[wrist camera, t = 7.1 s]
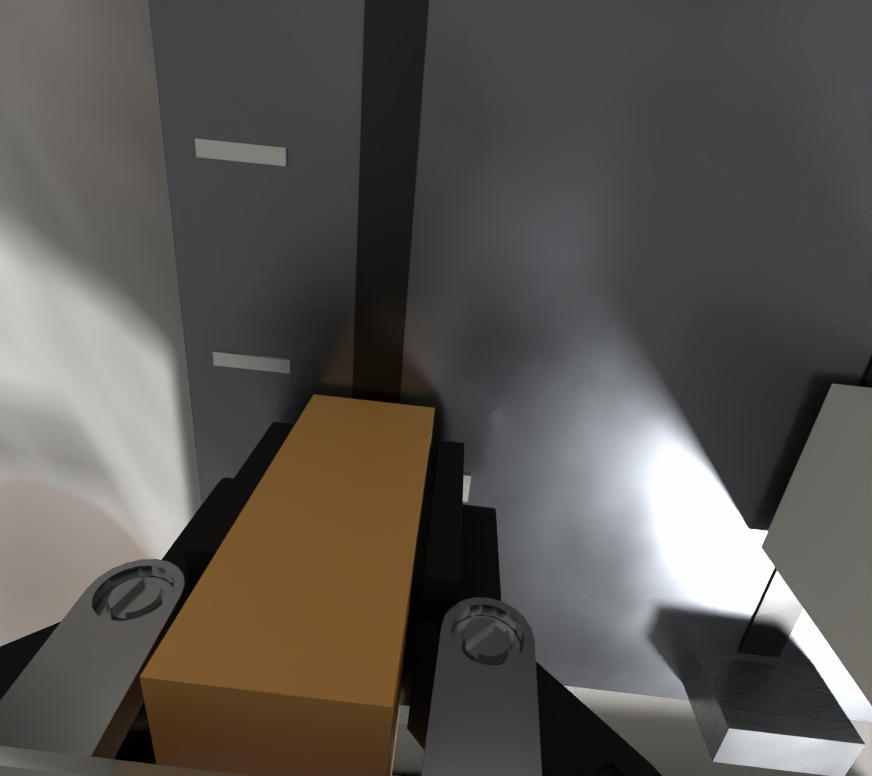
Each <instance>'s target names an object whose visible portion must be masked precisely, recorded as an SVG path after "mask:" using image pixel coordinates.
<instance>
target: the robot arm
mask: <svg viewBox="0 0 872 776" xmlns="http://www.w3.org/2000/svg"><path fill="white" fill-rule="evenodd" d="M294 425H295V424H291V423H282V422H273V423H272V424H271V425H270V427H269V428H268V430H267V431H266V433H265V434H264V435H263V437H262V438H261V440H260V441H259V443H258V444H257V445H256V447H255V448H254V450H253V451H252V453H251V454H250V456H249V457H248V458H247V460H246V461H245V463H244V464H243V466H242V467H241V468H240V470H239V471H238V473H237V474H236V476H235V477H234V478H228V477H226V478H222V479H221V480H220V481H219V482H218V484H217V485H216V486H215V488H214V489H213V490H212V492H211V493H210V495H209V496H208V497H207V499H206V500H205V501H204V503H203V504H202V505H201V507H200V508H199V510H198V511H197V512H196V514H195V515H194V516H193V518H192V519H191V520H190V522H189V523H188V525H187V526H186V527H185V529H184V530H183V531H182V533H181V534H180V535H179V537H178V538H177V540H176V541H175V542H174V544H173V545H172V546H171V548H170V549H169V550H168V552H167V553H166V555H165V556H164V557H163V559H162V560H158V559H141V560H137V561H132V562H128V563H124V564H122V565H120V566H117V567H115V568H112V569H110V570H109V571H107V572H106V573H104V574H103V575H101V576H99V577H98V578H97V579H96V580H95V581H94V582H93V583H92V584H91V585H90V586H89V587H88V588H87V589H86V590H85V591H84V593H83V594H82V595H81V597H80V598H79V599H78V601H77V602H76V603H75V604H74V606H73V607H72V608H71V610H70V611H69V612H68V614H67V615H66V616H65V617H64V619H63V620H62V621H61V622H59V623H56V624H54V625H52V626H49V627H47V628H44V629H42V630H39V631H37V632H35V633H32V634H30V635H27V636H25V637H22V638H20V639H18V640H15V641H13V642H10V643H8V644H5V645H3V646H1V647H0V776H246V775H238V774H230V773H222V772H214V771H206V770H197V769H189V768H181V767H173V766H165V765H157V764H156V758H155V753H154V748H153V743H152V738H151V733H150V728H149V723H148V718H147V712H146V707H145V702H144V697H143V692H142V687H141V682H140V675H141V674H142V672H143V671H144V669H145V667H146V666H147V664H148V662H149V661H150V659H151V658H152V656H153V654H154V653H155V651H156V650H157V648H158V646H159V645H160V643H161V641H162V640H163V638H164V637H165V635H166V633H167V632H168V630H169V628H170V627H171V625H172V624H173V622H174V620H175V619H176V617H177V615H178V614H179V612H180V611H181V609H182V607H183V606H184V604H185V602H186V601H187V599H188V598H189V596H190V594H191V593H192V591H193V589H194V588H195V586H196V585H197V583H198V581H199V580H200V578H201V576H202V575H203V573H204V572H205V570H206V568H207V567H208V565H209V563H210V562H211V560H212V559H213V557H214V555H215V554H216V552H217V550H218V549H219V547H220V546H221V544H222V542H223V541H224V539H225V537H226V536H227V534H228V533H229V531H230V529H231V528H232V526H233V524H234V523H235V521H236V520H237V518H238V516H239V515H240V513H241V512H242V510H243V508H244V507H245V505H246V503H247V502H248V500H249V499H250V497H251V495H252V494H253V492H254V490H255V489H256V487H257V486H258V484H259V482H260V481H261V479H262V477H263V476H264V474H265V473H266V471H267V469H268V468H269V466H270V464H271V463H272V461H273V460H274V458H275V456H276V455H277V453H278V451H279V450H280V448H281V447H282V445H283V443H284V442H285V440H286V438H287V437H288V435H289V434H290V432H291V430H292V429H293V427H294ZM463 475H464V443H461V442H452V441H443V440H439V447H436V446H430V452H429V459H428V466H427V474H426V481H425V488H424V495H423V503H422V510H421V517H420V525H419V532H418V539H417V546H416V554H415V561H414V569H413V577H412V586H411V596H410V606H409V616H408V626H407V637H406V647H405V657H404V667H403V678H402V688H401V698H400V705H403V706H410V707H409V716H408V725H407V729H408V730H409V731H410V733H411V734H412V735H413V736H414V738H415V739H416V740H417V741H418V743H419V744H420V745H421V746H422V748H423V749H424V750H425V753H424V760H423V767H422V775H421V776H661V774H660V773H659V772H658V771H657V770H656V769H655V768H654V767H653V766H652V765H651V764H650V763H649V762H648V761H647V760H646V759H645V758H644V757H643V756H641V755H640V754H639V753H638V752H637V751H636V750H635V749H634V748H632V747H631V746H630V745H629V744H628V743H627V742H626V741H625V740H624V739H622V738H621V737H620V736H619V735H618V734H617V733H616V732H615V731H613V730H612V729H611V728H610V727H609V726H608V725H607V724H606V723H605V722H603V721H602V720H601V719H600V718H599V717H598V716H597V715H596V714H595V713H593V712H592V711H591V710H590V709H589V708H588V707H587V706H586V705H584V704H583V703H582V702H581V701H580V700H579V699H578V698H577V697H576V696H574V695H573V694H572V693H571V692H570V691H569V690H568V689H567V688H565V687H564V686H563V685H562V684H561V683H560V682H559V681H558V680H557V679H555V678H554V677H553V676H552V675H551V674H550V673H549V672H548V671H547V670H545V669H544V668H543V667H542V666H541V665H540V664H539V663H538V662H536V656H535V640H534V636H533V632H532V628H531V627H530V625H529V624H528V622H527V620H526V619H525V617H524V616H523V615H521V614H520V613H519V612H518V611H517V610H516V609H515V608H513V607H511V606H510V605H508V604H506V603H504V602H502V601H501V586H500V569H499V552H498V536H497V519H496V509H495V508H491V507H483V506H474V505H465V504H463Z"/></svg>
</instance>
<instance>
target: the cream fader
mask: <svg viewBox="0 0 872 776" xmlns="http://www.w3.org/2000/svg"><path fill="white" fill-rule="evenodd" d="M761 548H762V550H763V551H764V553H765V554H766V555H767V557H768V558H769V560H770V561H771V563H772V564H773V565H774V567H775V568H776V570H777V571H778V573H779V574H780V575H781V577H782V578H783V580H784V581H785V583H786V584H787V585H788V587H789V588H790V590H791V591H792V593H793V594H794V596H795V597H796V598H797V600H798V601H799V603H800V604H801V606H802V607H803V608H804V610H805V611H806V613H807V614H808V616H809V617H810V618H811V620H812V621H813V623H814V624H815V626H816V627H817V628H818V630H819V631H820V633H821V634H822V636H823V637H824V638H825V640H826V641H827V643H828V644H829V646H830V647H831V648H832V650H833V651H834V653H835V654H836V656H837V657H838V658H839V660H840V661H841V663H842V664H843V666H844V667H845V668H846V670H847V671H848V673H849V674H850V676H851V677H852V678H853V680H854V681H855V683H856V684H857V686H858V687H859V689H860V690H861V691H862V693H863V694H864V696H865V697H866V699H867V700H868V701H869V703H870V704H871V706H872V388H868V387H858V386H849V385H840V384H832V385H831V387H830V389H829V392H828V394H827V396H826V398H825V401H824V403H823V405H822V408H821V410H820V412H819V415H818V417H817V419H816V421H815V424H814V426H813V428H812V431H811V433H810V435H809V438H808V440H807V442H806V444H805V447H804V449H803V451H802V454H801V456H800V458H799V461H798V463H797V465H796V467H795V470H794V472H793V474H792V477H791V479H790V481H789V484H788V486H787V488H786V490H785V493H784V495H783V497H782V500H781V502H780V504H779V507H778V509H777V511H776V513H775V516H774V518H773V520H772V523H771V525H770V527H769V530H768V532H767V534H766V536H765V539H764V541H763V543H762V546H761Z"/></svg>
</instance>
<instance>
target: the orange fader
mask: <svg viewBox="0 0 872 776" xmlns="http://www.w3.org/2000/svg"><path fill="white" fill-rule="evenodd" d="M434 411H435V408H432V407H423V406H414V405H405V404H396V403H387V402H378V401H369V400H360V399H351V398H342V397H333V396H324V395H315V394H314V395H313V396H312V398H311V399H310V401H309V403H308V404H307V406H306V408H305V409H304V411H303V412H302V414H301V416H300V417H299V419H298V421H297V422H296V424H295V425H294V427H293V429H292V430H291V432H290V434H289V435H288V437H287V438H286V440H285V442H284V443H283V445H282V447H281V448H280V450H279V451H278V453H277V455H276V456H275V458H274V460H273V461H272V463H271V464H270V466H269V468H268V469H267V471H266V473H265V474H264V476H263V477H262V479H261V481H260V482H259V484H258V486H257V487H256V489H255V490H254V492H253V494H252V495H251V497H250V499H249V500H248V502H247V503H246V505H245V507H244V508H243V510H242V512H241V513H240V515H239V516H238V518H237V520H236V521H235V523H234V524H233V526H232V528H231V529H230V531H229V533H228V534H227V536H226V537H225V539H224V541H223V542H222V544H221V546H220V547H219V549H218V550H217V552H216V554H215V555H214V557H213V559H212V560H211V562H210V563H209V565H208V567H207V568H206V570H205V572H204V573H203V575H202V576H201V578H200V580H199V581H198V583H197V585H196V586H195V588H194V589H193V591H192V593H191V594H190V596H189V598H188V599H187V601H186V602H185V604H184V606H183V607H182V609H181V611H180V612H179V614H178V615H177V617H176V619H175V620H174V622H173V624H172V625H171V627H170V628H169V630H168V632H167V633H166V635H165V637H164V638H163V640H162V641H161V643H160V645H159V646H158V648H157V650H156V651H155V653H154V654H153V656H152V658H151V659H150V661H149V662H148V664H147V666H146V667H145V669H144V671H143V672H142V674H141V675H140V682H141V687H142V692H143V697H144V702H145V707H146V712H147V718H148V723H149V728H150V733H151V738H152V743H153V748H154V753H155V758H156V764H157V765H165V766H173V767H181V768H189V769H197V770H206V771H214V772H222V773H230V774H238V775H246V776H392V769H393V761H394V753H395V746H396V738H397V730H398V722H399V714H400V706H401V705H400V698H401V688H402V678H403V667H404V657H405V647H406V637H407V626H408V616H409V606H410V596H411V586H412V577H413V569H414V561H415V554H416V546H417V539H418V532H419V525H420V517H421V510H422V503H423V495H424V488H425V481H426V474H427V466H428V459H429V452H430V446H431V440H432V430H433V420H434Z"/></svg>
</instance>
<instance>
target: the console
mask: <svg viewBox="0 0 872 776" xmlns="http://www.w3.org/2000/svg"><path fill="white" fill-rule="evenodd" d="M149 7H150V16H151V26H152V35H153V45H154V54H155V64H156V73H157V83H158V92H159V102H160V111H161V121H162V130H163V140H164V149H165V159H166V168H167V177H168V187H169V196H170V206H171V215H172V225H173V234H174V244H175V253H176V263H177V272H178V282H179V291H180V301H181V310H182V320H183V329H184V339H185V348H186V357H187V367H188V376H189V386H190V395H191V405H192V414H193V424H194V433H195V443H196V452H197V462H198V471H199V481H200V490H201V500H202V504H203V503H204V501H205V500H206V499H207V497H208V496H209V495H210V493H211V492H212V490H213V489H214V488H215V486H216V485H217V484H218V482H219V481H220V480H221V479H222V478H226V477H228V478H234V477H235V476H236V474H237V473H238V471H239V470H240V468H241V467H242V466H243V464H244V463H245V461H246V460H247V458H248V457H249V456H250V454H251V453H252V451H253V450H254V448H255V447H256V445H257V444H258V443H259V441H260V440H261V438H262V437H263V435H264V434H265V433H266V431H267V430H268V428H269V427H270V425H271V424H272V423H273V422H282V423H291V424H296V422H297V421H298V419H299V417H300V416H301V414H302V412H303V411H304V409H305V408H306V406H307V404H308V403H309V401H310V399H311V398H312V396H313V395H314V394H315V395H324V396H333V397H342V398H351V399H360V400H369V401H378V402H387V403H396V404H405V405H414V406H423V407H432V408H435V411H434V420H433V430H432V440H431V446H436V447H439V440H443V441H452V442H461V443H464V475H463V504H465V505H474V506H483V507H491V508H495V509H496V519H497V536H498V552H499V569H500V586H501V601H502V602H504V603H506V604H508V605H510V606H511V607H513V608H515V609H516V610H517V611H518V612H519V613H520V614H521V615H523V616H524V617H525V619H526V620H527V622H528V624H529V625H530V627H531V628H532V632H533V636H534V640H535V656H536V662H538V663H539V664H540V665H541V666H542V667H543V668H544V669H545V670H547V671H548V672H549V673H550V674H551V675H552V676H553V677H554V678H555V679H557V680H558V681H559V682H560V683H561V684H562V685H565V686H573V687H582V688H590V689H598V690H607V691H615V692H624V693H632V694H640V695H649V696H657V697H666V698H674V699H683V700H689V701H690V704H691V706H692V709H693V712H694V714H695V717H696V719H697V722H698V725H699V727H700V730H701V733H702V735H703V738H704V740H705V743H706V746H707V748H708V751H709V753H710V756H711V759H712V761H713V762H718V763H727V764H735V765H743V766H752V767H760V768H768V769H776V770H785V771H793V772H801V773H810V774H818V775H826V776H845V774H846V773H847V771H848V770H849V768H850V767H851V765H852V764H853V762H854V761H855V759H856V758H857V756H858V755H859V753H860V752H861V750H862V749H863V747H864V746H865V743H864V742H863V740H862V739H861V737H860V736H859V734H858V733H857V731H856V729H855V728H854V726H853V725H852V723H851V722H850V720H849V719H851V720H859V721H868V722H872V706H871V704H870V703H869V701H868V700H867V699H866V697H865V696H864V694H863V693H862V691H861V690H860V689H859V687H858V686H857V684H856V683H855V681H854V680H853V678H852V677H851V676H850V674H849V673H848V671H847V670H846V668H845V667H844V666H843V664H842V663H841V661H840V660H839V658H838V657H837V656H836V654H835V653H834V651H833V650H832V648H831V647H830V646H829V644H828V643H827V641H826V640H825V638H824V637H823V636H822V634H821V633H820V631H819V630H818V628H817V627H816V626H815V624H814V623H813V621H812V620H811V618H810V617H809V616H808V614H807V613H806V611H805V610H804V608H803V607H802V606H801V604H800V603H799V601H798V600H797V598H796V597H795V596H794V594H793V593H792V591H791V590H790V588H789V587H788V585H787V584H786V583H785V581H784V580H783V578H782V577H781V575H780V574H779V573H778V571H777V570H776V568H775V567H774V565H773V564H772V563H771V561H770V560H769V558H768V557H767V555H766V554H765V553H764V551H763V550H762V548H761V546H762V543H763V541H764V539H765V536H766V534H767V532H768V530H769V527H770V525H771V523H772V520H773V518H774V516H775V513H776V511H777V509H778V507H779V504H780V502H781V500H782V497H783V495H784V493H785V490H786V488H787V486H788V484H789V481H790V479H791V477H792V474H793V472H794V470H795V467H796V465H797V463H798V461H799V458H800V456H801V454H802V451H803V449H804V447H805V444H806V442H807V440H808V438H809V435H810V433H811V431H812V428H813V426H814V424H815V421H816V419H817V417H818V415H819V412H820V410H821V408H822V405H823V403H824V401H825V398H826V396H827V394H828V392H829V389H830V387H831V385H832V384H840V385H849V386H858V387H868V388H872V0H149ZM409 707H410V706H403V705H401V706H400V714H399V722H398V724H403V725H408V716H409Z"/></svg>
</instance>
